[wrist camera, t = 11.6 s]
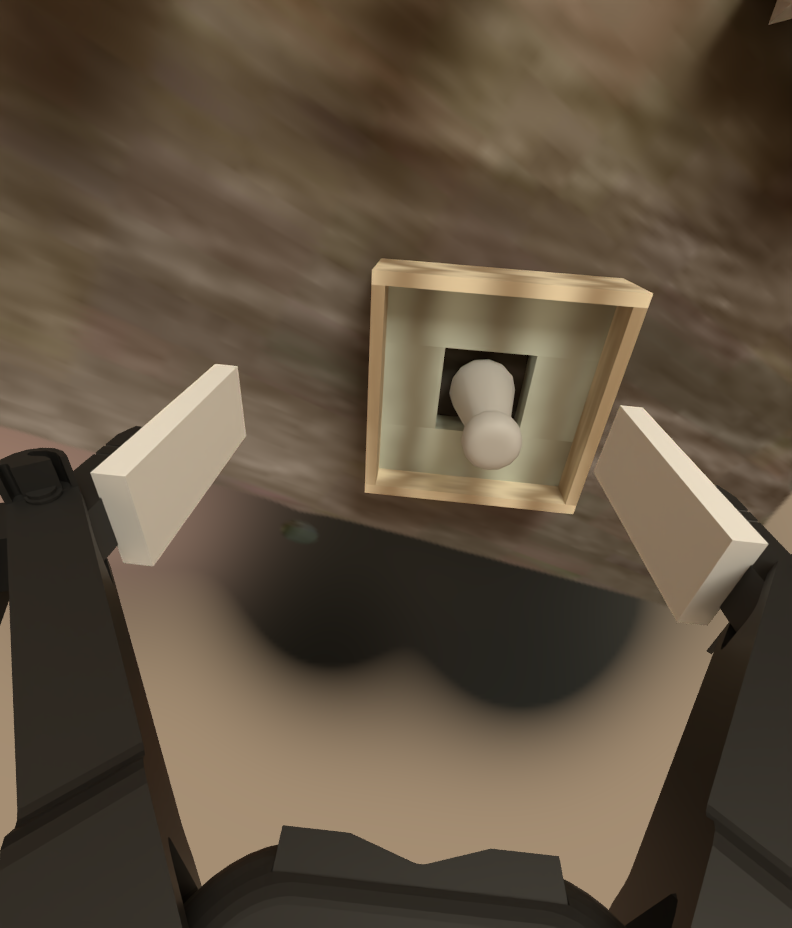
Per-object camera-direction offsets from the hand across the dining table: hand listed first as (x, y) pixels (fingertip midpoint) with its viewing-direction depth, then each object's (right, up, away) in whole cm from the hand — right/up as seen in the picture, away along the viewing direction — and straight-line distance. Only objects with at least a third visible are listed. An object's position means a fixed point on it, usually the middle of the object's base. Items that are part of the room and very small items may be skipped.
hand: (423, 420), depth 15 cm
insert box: (+7, +6, +26) cm, 28 cm away
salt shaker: (+7, +6, +27) cm, 28 cm away
